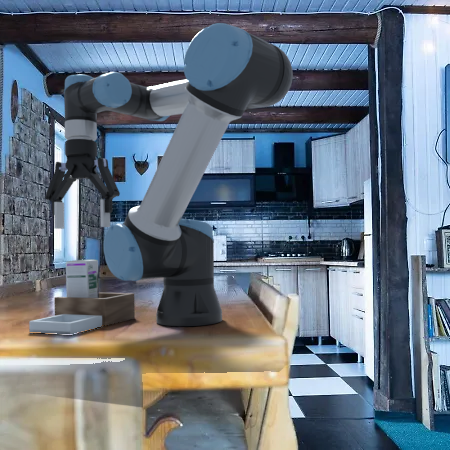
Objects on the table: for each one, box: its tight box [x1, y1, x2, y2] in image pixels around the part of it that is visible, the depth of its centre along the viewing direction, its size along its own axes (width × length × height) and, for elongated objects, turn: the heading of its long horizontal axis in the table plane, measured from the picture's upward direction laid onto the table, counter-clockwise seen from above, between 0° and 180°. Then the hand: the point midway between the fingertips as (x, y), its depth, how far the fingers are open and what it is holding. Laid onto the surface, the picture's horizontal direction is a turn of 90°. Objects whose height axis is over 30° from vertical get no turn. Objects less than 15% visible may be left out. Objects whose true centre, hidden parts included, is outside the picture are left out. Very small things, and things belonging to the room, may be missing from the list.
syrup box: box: [65, 259, 100, 298], centre depth 120 cm, size 6×6×14 cm
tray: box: [28, 314, 103, 334], centre depth 106 cm, size 10×10×2 cm
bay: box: [53, 292, 136, 326], centre depth 119 cm, size 14×12×6 cm
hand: (81, 228), depth 121 cm, fingers open, 13 cm apart
